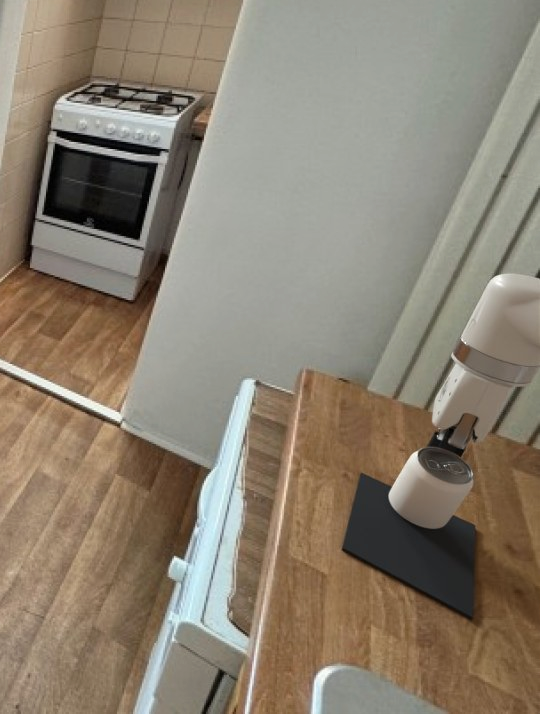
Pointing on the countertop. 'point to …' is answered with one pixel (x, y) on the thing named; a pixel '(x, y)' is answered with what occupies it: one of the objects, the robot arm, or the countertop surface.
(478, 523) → the countertop surface
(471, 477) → the can
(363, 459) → the countertop surface
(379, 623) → the countertop surface
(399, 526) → the mat
